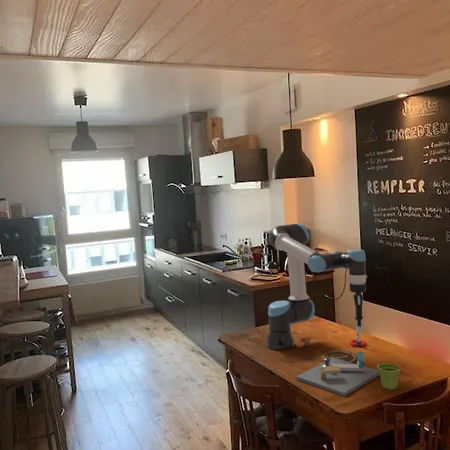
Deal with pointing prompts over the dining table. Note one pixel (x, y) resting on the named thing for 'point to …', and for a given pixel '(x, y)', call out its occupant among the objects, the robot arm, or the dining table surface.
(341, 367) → the lever
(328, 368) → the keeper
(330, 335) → the dining table surface
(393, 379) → the plant pot
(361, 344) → the tow hook
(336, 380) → the base plate
